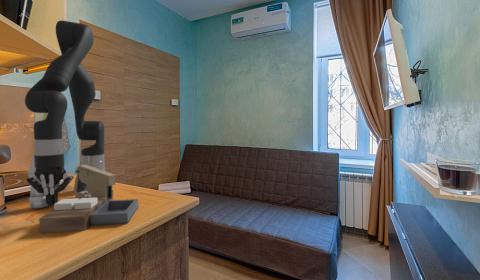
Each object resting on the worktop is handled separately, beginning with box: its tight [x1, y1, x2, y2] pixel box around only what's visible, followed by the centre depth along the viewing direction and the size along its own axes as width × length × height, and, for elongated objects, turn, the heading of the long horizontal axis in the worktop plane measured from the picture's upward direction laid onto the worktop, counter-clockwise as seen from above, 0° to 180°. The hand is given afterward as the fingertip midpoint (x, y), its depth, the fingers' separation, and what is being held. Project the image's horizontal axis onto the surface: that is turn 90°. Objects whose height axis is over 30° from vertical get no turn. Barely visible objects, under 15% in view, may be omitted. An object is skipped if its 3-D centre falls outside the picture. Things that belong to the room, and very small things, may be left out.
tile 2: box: [74, 198, 98, 209], centre depth 78 cm, size 5×5×2 cm
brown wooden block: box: [38, 197, 107, 234], centre depth 78 cm, size 18×12×4 cm, turn 11°
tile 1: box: [53, 197, 79, 210], centre depth 77 cm, size 5×5×2 cm
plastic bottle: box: [27, 155, 49, 209], centre depth 88 cm, size 6×7×20 cm
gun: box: [73, 164, 116, 200], centre depth 95 cm, size 24×3×15 cm, turn 62°
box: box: [90, 198, 139, 227], centre depth 81 cm, size 14×11×4 cm
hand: (52, 204), depth 76 cm, fingers closed
